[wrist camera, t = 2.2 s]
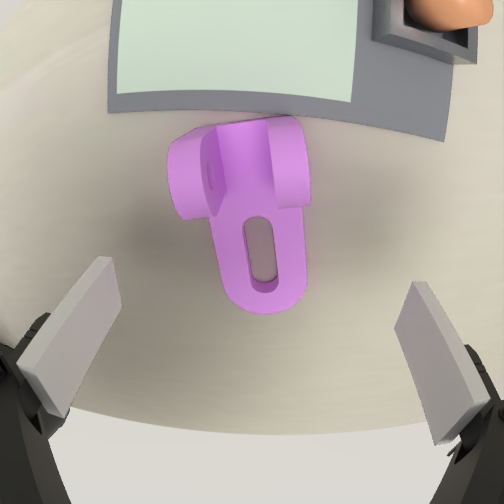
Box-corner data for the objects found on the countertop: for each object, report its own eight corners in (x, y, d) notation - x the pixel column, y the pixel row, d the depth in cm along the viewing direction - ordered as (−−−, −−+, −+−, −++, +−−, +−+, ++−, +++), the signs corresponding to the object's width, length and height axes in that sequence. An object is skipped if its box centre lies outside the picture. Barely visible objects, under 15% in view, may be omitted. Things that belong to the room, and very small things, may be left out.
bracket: (196, 127, 18) (160, 149, 12) (290, 114, 17) (305, 128, 11) (232, 305, 24) (222, 376, 18) (306, 298, 23) (317, 370, 17)
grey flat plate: (110, 112, 17) (106, 113, 17) (122, -41, 12) (118, -44, 11) (441, 141, 17) (444, 142, 17) (451, -9, 12) (455, -10, 11)
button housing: (371, 40, 14) (389, 33, 12) (373, -36, 12) (390, -52, 9) (450, 64, 14) (476, 64, 12) (451, -8, 12) (475, -17, 9)
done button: (403, 22, 12) (439, 9, 8) (403, -25, 10) (436, -46, 7) (452, 40, 12) (494, 35, 8) (452, -6, 10) (491, -19, 7)
